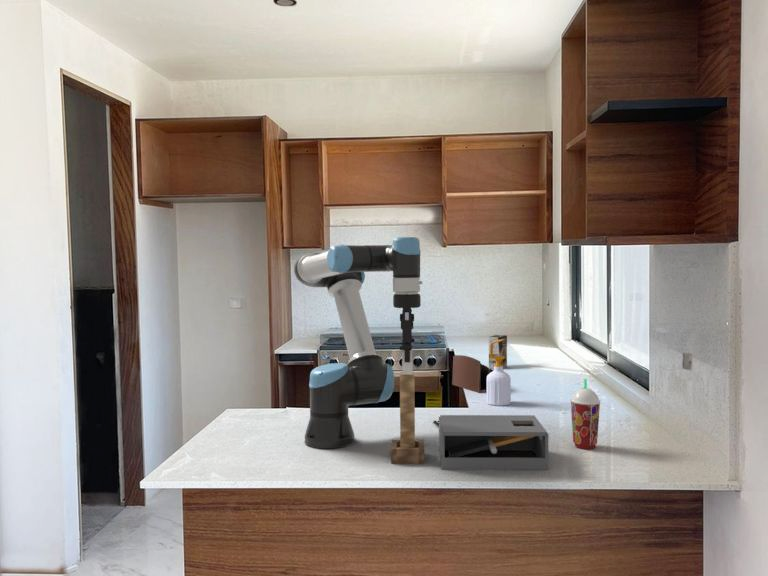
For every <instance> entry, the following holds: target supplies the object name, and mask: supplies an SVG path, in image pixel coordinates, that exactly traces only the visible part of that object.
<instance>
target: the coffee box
mask: <svg viewBox="0 0 768 576" xmlns="http://www.w3.org/2000/svg"><path fill="white" fill-rule="evenodd" d="M501 339H503V341H501V342H497V343H494V344H493V355H494V356H503V357H505V358H504V359H502V361H501V364H502V365H503V369H504V368H505V369H506V368H507V367H508V335H505V334H504V335H503V334H496V335H490V336H488V368H489V369H491V370H494V364H496V361H495V359H492V358H491V357H490V345H491V343H493V342H494V341H497V340H501Z"/></svg>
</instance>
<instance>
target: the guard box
mask: <svg viewBox="0 0 768 576" xmlns="http://www.w3.org/2000/svg"><path fill="white" fill-rule="evenodd" d="M438 421H439V422H438V423H439V429H438V452H439V460H440V467H441V470H495V469H527V470H526V471H528V470H529V471H530V470H531V471H532V470H533V471H541V470H542V471H549V433H548V432H547V430H546V429H545V427H544V426H543V425H542V424H541V422H540V421H539V419H538V418H537V417H536V416H535V415H532V414H531V415H530V414H529V415H528V414H526V415H522V414H521V415H519V414H518V415H516V414H515V415H512V414H505V415H502V414H501V415H500V414H499V415H492V414H488V415H487V414H486V415H485V414H484V415H480V414H475V415H473V414H467V415H466V414H465V415H463V414H459V415H457V414H451V415H450V414H449V415H448V414H440V415H439V416H438ZM485 436H491V437H495V436H535V437H532V438H528V439H524V440H521V441H517V442H513V443H509V444H505V445H501V446H497V447H496V449H497V451H533V453H534V454H535V456H536V457H523V456H522V457H519V456H518V457H507V456H506V457H504V456H503V457H498V456H496V457H495V456H493V457H492V456H491V457H490V456H489V457H487V456H486V457H485V456H484V457H481V456H480V457H479V456H473V457H472V456H471V457H469V456H459V457H449V456H448V457H447V456H445V455H446V454H445V451H448V449H449V448H453V447H457V446H460V445H464V444H468V443H472V442H476V441H480V440H484V439H486V438H485ZM485 451H491V450H490V449H486V450H485Z"/></svg>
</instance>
